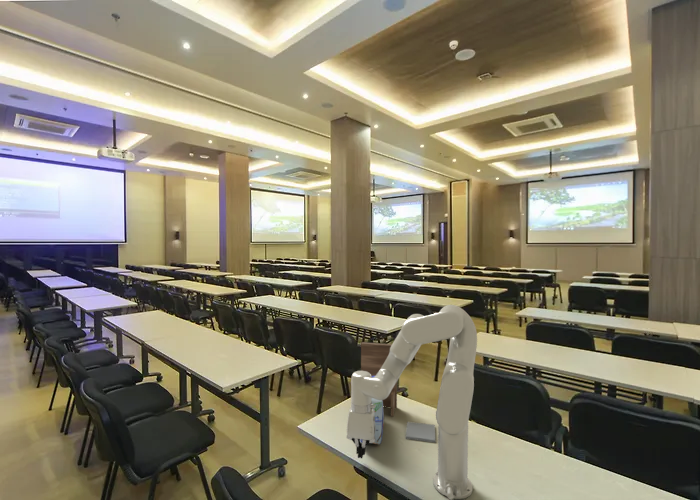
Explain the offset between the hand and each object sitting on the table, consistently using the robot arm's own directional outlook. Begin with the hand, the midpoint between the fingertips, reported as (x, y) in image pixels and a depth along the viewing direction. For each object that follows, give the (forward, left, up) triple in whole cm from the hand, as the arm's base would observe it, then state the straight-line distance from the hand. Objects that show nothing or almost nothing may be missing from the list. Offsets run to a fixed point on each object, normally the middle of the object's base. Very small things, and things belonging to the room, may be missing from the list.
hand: (360, 455), depth 122 cm
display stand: (+42, 0, -3) cm, 42 cm away
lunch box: (+22, 0, -3) cm, 22 cm away
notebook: (+26, -21, -3) cm, 34 cm away
